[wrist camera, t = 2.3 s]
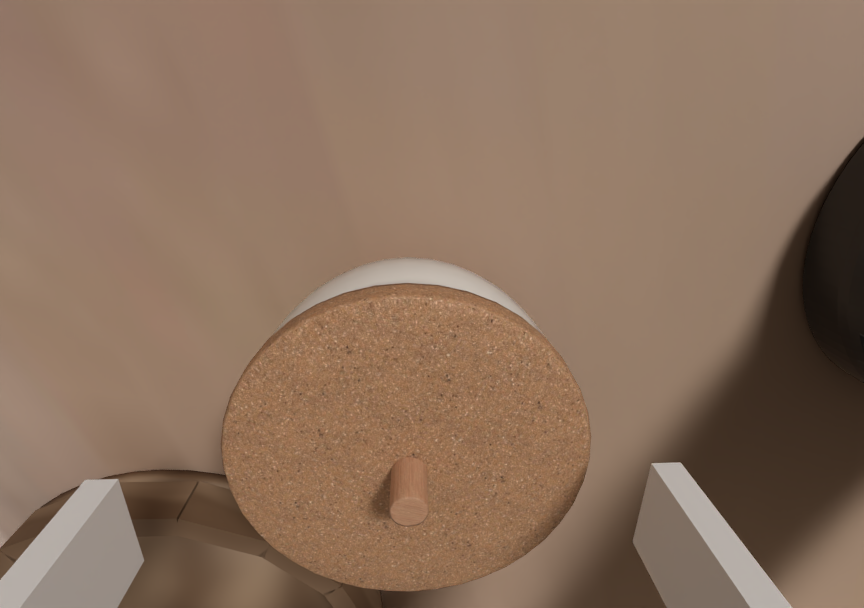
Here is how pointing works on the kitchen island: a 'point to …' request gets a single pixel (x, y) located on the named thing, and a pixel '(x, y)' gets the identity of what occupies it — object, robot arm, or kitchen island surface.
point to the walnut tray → (201, 550)
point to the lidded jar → (406, 430)
